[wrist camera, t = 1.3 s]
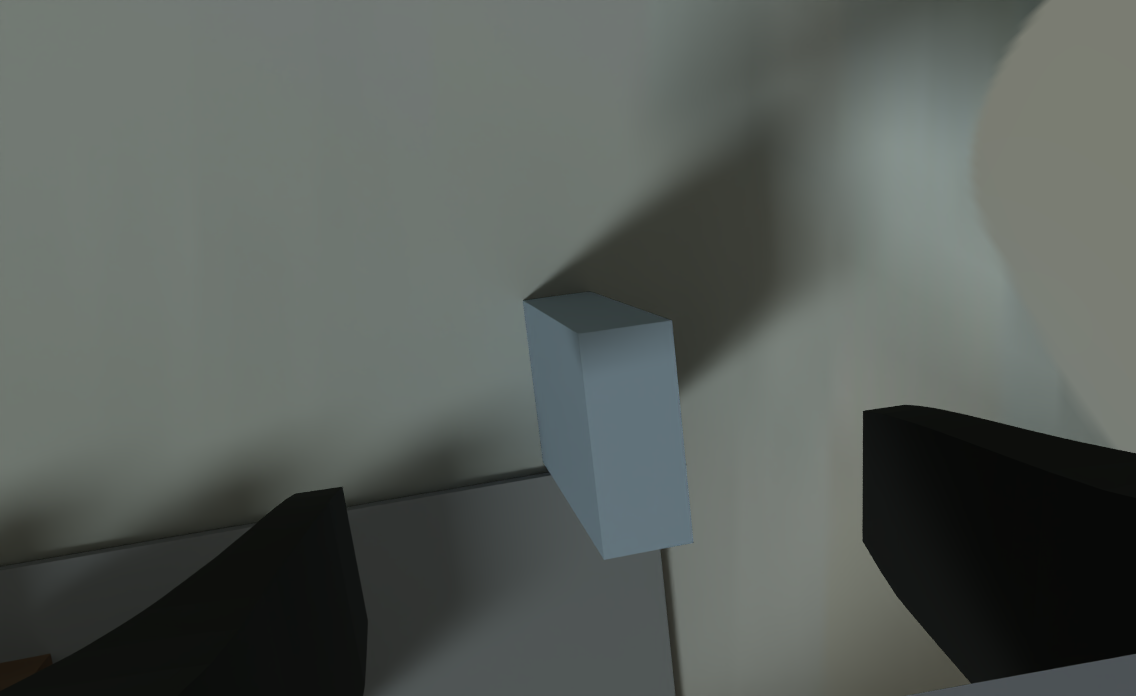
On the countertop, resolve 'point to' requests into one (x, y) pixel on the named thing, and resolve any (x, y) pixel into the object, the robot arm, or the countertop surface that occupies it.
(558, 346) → the tile
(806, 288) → the countertop surface
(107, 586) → the runner mat
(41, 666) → the tile
